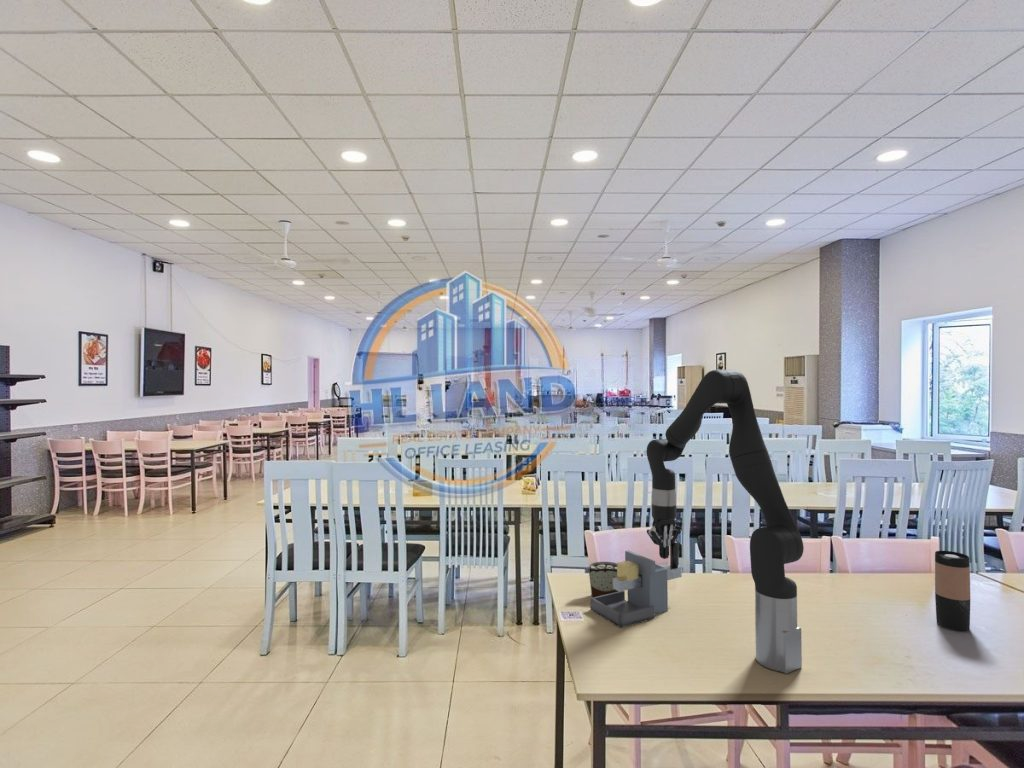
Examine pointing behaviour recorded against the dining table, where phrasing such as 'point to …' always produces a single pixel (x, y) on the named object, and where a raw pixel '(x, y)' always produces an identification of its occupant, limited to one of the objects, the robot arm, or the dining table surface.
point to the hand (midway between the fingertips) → (664, 557)
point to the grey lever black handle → (672, 570)
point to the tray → (620, 609)
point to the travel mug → (952, 590)
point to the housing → (649, 584)
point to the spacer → (628, 570)
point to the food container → (602, 578)
